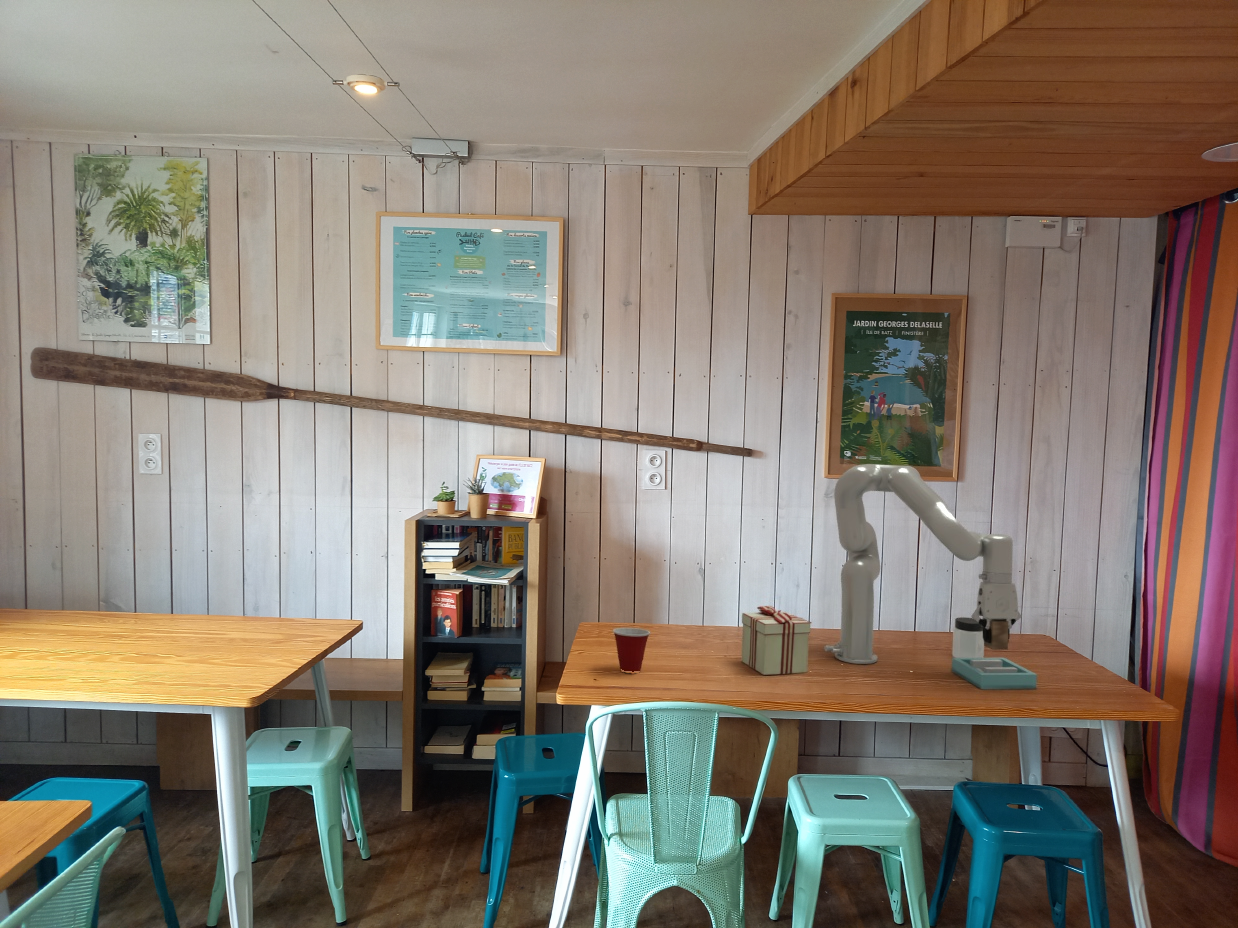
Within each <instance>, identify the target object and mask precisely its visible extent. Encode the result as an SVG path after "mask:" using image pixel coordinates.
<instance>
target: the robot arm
mask: <svg viewBox="0 0 1238 928" xmlns="http://www.w3.org/2000/svg"><path fill="white" fill-rule="evenodd" d="M867 492H883V493H884V492H885V493H894V495H896V496H897V497H898V499H900V500H901V501H902V502H903V503H904V504H905V505H906V506H907V507H908V508H909V509H910V510H911V511H912V512H913V513H914V514H915V515H916V516H917V517H918V518H919V520H921V521H922V523H923V524H924V525H925V527H927V528H928V529H929V531H930V532H931V533H932V534H933V535H934V536H935V538H936V539H938V540H939V542H940V543H941V544H942V546H944V547H945V548H946V549H947V550H949V552H951V554H952V555H953V556H954V557H956V558H957V559H959V560H962V561H963V562H964V561H965V562H970V561H974V560H976V559H977V558H979V557H981V558H982V573H980V574H978V579H979V580H981V581H980V584H979V587H978V591H977V599H976V609H975V610H974V611H973V613H972V614H971V617H970V618H973V619H975V620H976V621H977V622H978V623H979V624H980V625H981V626H982V627H983V640H984V641H985V642H987V643H991V629H990V625H991V621H992V619H1004V620H1006V621H1008V644H1009V643H1010V642H1009V641H1010V640H1009V639H1010V636H1011V635H1010V631H1011V629H1012V627H1013V625H1015V623H1016V622H1018V621H1019V620H1021V618H1022V614H1020V612H1019V601H1018V593H1017V592H1018V591H1017V587H1016V584H1015V583H1013V550H1014V549H1013V548H1014V547H1013V546H1014V544H1013V542H1014V540H1013V538H1012V537H1011V536H1010V535H1007V534H1003V533H1002V534H1001V533H1000V534H999V533H989V534H987V533H981V532H975V531H968V529H966V528H965V527H964V526H963V525H962V524H961V523H960V522H959V520H958V519H956V517H954V515H953V514H952V512H951V511H950V509H949V507H948V505H947V503H946V502H945V500H944V499H943V498H942V497H941V496H940V495H939V493H937V492H936V491H935V490H934V489H933V488H932V487H931V486H930V485H928V484H927V482H925V480H923V479H922V477H921V474H920V472H919V471H918V470H917V468H915V467H913V466H910V465H893V464H892V465H891V464H878V463H877V464H876V463H875V464H873V463H866V464H859V465H855V466H853V467H851V468H849V469H848V470H846V471H845V472H843V474H841V475H840V477H839V478H838V479H837V481H836V484H835V487H834V493H833V495H834V496H833V499H834V505H835V506H834V507H835V513H836V514H835V515H836V516H835V517H836V522H837V531H838V539H839V541H838V542H839V544H840V546H841V547H842V549H844V550H845V551H847V556H848V560H846V562H845V563H844V564H843V566H842V568H841V573H840V584H841V585H840V586H841V613H840V614H841V616H840V617H841V619H840V620H841V621H840V622H841V624H840V641H837V643H836V644H834V645H832V644H831V645H830V644H825V645H824V651H825V652H831V654H834V657H835V658H836V659H837V660H839V661H841V662H845V663H848V664H849V663H850V664H856V665H857V664H858V665H869V664H871V665H872V664H874V663H876V662H877V661H878V655H876V654H875V653H874V652H873V646H874V645H873V642H874V639H873V638H874V614H875V613H874V612H875V610H874V609H875V608H874V607H875V605H874V604H875V595H874V594H875V593H874V583H875V581H876V580H877V578H878V577H879V575H880V573H881V561H880V555H879V554H880V553H879V549H878V548H879V547H878V540H877V535H876V530H875V528H874V526H872V524H871V523H869V522H868V521H867V519H866V511H865V505H864V501H863V497H864V496H863V495H864V494H865V493H867ZM981 617H982V618H981Z"/></svg>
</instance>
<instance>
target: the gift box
mask: <svg viewBox="0 0 1238 928" xmlns="http://www.w3.org/2000/svg"><path fill="white" fill-rule="evenodd" d="M756 609H758V611H759V612H742V613H741V614H742V615H741V624H742V639H741V658H740V659H741V662H742V663H743V664H744V665H747V666H748V667H749V668H752V669H753V670H754V671H756V672H759V673H760V674H761V675H763V676H768V675H769V676H770V675H783V674H784V675H786V674H801V673H808V663H809V662H808V661H809V660H808V658H809V640H810V639H809V637H810V636H809V635H810V633H811V624H812V621H809V620H807V619H804V618H803V617H799V616H796V615H794V614H791V613H789V612H787V611H782V610H776V608H775V607H774V606H772V605H763V606H757V607H756Z"/></svg>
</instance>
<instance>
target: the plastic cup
mask: <svg viewBox="0 0 1238 928" xmlns="http://www.w3.org/2000/svg"><path fill="white" fill-rule="evenodd" d="M612 632H613V634H614V638H615V643H616V650H617V658H618V664H619V669H622V670H624V671H632V672H634V671H640V672H641V670H642V666H643V665H642V664H643V660H644V655H645V651H646V645H647V642H648V639H649V636H650V634H651V631H649V630H647V629H643V628H638V627H637V628H636V627H617V628H613V629H612Z"/></svg>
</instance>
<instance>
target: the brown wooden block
mask: <svg viewBox="0 0 1238 928" xmlns="http://www.w3.org/2000/svg"><path fill="white" fill-rule="evenodd" d="M990 629H991V643H987V642H985V641H984V647H986V648H987V649H988V648H989V649H990V650H992V651H994V650H995V651H1000V650H1004V651H1005V650H1006V651H1008V650H1009V643H1008V621H1006V620H1004V619H992V621H991V625H990Z"/></svg>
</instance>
